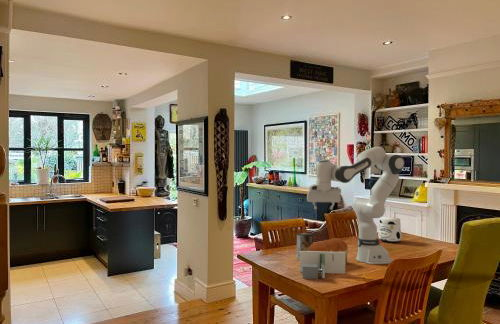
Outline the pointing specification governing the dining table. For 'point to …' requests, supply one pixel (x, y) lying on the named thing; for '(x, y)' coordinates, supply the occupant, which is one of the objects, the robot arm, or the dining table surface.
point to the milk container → (390, 229)
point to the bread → (330, 246)
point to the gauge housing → (331, 261)
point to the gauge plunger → (321, 267)
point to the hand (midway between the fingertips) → (323, 209)
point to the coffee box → (303, 242)
